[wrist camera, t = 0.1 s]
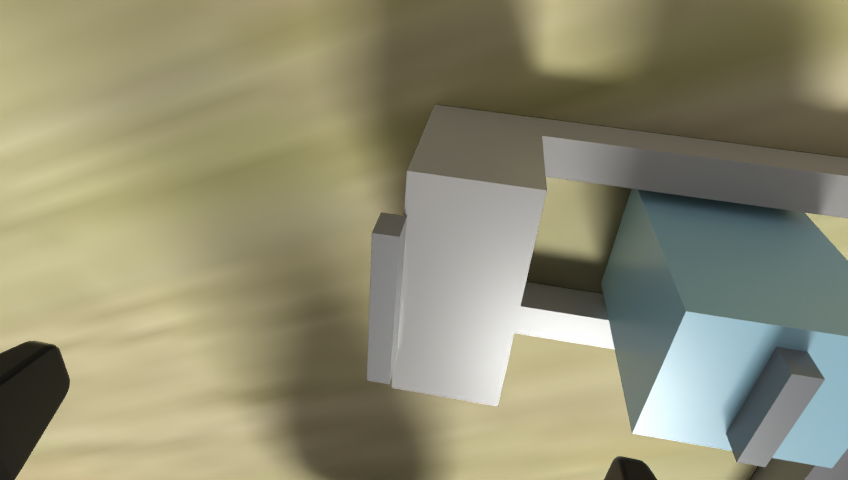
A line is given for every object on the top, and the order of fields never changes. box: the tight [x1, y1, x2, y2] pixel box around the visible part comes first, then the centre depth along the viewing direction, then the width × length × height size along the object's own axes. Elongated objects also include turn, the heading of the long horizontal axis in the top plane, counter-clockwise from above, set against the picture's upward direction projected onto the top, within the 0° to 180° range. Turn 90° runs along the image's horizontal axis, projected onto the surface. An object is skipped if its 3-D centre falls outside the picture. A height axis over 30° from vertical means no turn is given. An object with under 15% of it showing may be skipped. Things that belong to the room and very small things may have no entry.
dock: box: [367, 105, 848, 406], centre depth 19 cm, size 9×18×7 cm, turn 86°
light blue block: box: [601, 189, 848, 468], centre depth 19 cm, size 5×6×9 cm
